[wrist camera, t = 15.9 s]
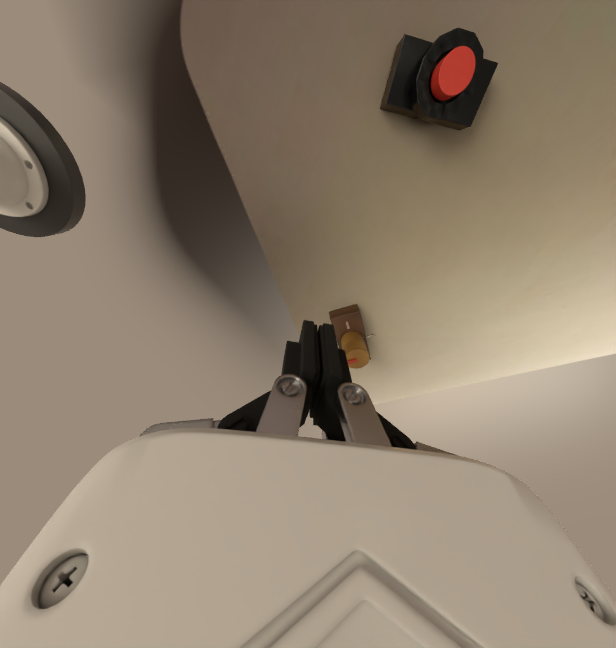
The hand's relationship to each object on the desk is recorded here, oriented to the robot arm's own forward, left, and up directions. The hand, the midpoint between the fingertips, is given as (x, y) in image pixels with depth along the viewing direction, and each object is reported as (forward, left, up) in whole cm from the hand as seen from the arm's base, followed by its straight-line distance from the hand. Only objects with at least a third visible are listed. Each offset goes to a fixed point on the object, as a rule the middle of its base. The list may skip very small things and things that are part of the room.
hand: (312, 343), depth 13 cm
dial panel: (+18, -1, -25) cm, 31 cm away
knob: (+18, -1, -23) cm, 29 cm away
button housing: (-8, +20, -25) cm, 33 cm away
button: (-8, +19, -21) cm, 30 cm away
